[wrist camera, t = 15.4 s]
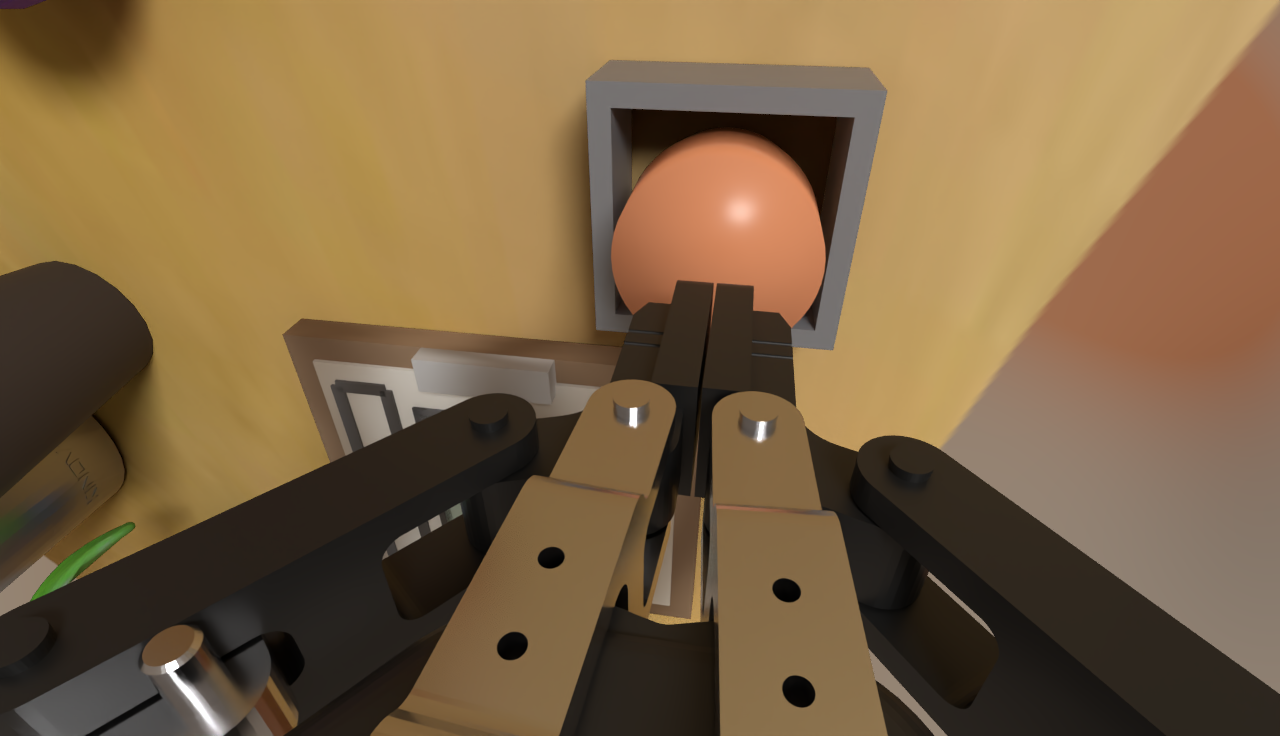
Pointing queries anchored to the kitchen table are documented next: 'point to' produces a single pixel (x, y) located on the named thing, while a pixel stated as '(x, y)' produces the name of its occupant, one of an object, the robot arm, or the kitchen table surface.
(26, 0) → the kendama
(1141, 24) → the kitchen table surface
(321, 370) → the colouring board
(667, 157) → the button
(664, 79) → the button collar
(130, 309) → the coffee cup
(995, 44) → the kitchen table surface
